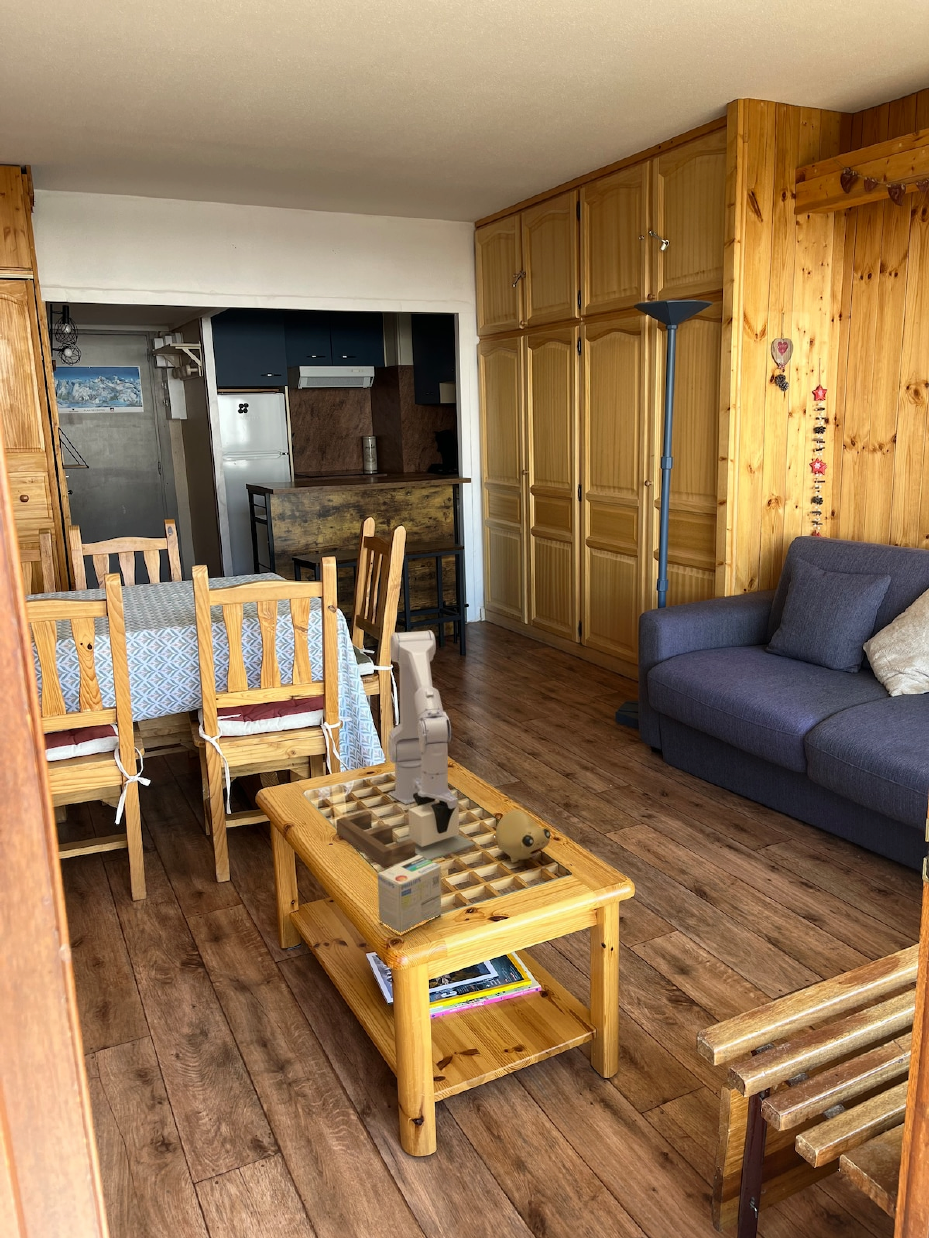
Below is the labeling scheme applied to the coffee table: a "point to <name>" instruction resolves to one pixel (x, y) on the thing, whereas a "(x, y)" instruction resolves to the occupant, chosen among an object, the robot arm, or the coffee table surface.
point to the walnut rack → (374, 839)
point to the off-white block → (430, 825)
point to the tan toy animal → (520, 835)
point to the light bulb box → (409, 893)
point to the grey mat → (441, 847)
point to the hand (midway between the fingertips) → (435, 827)
